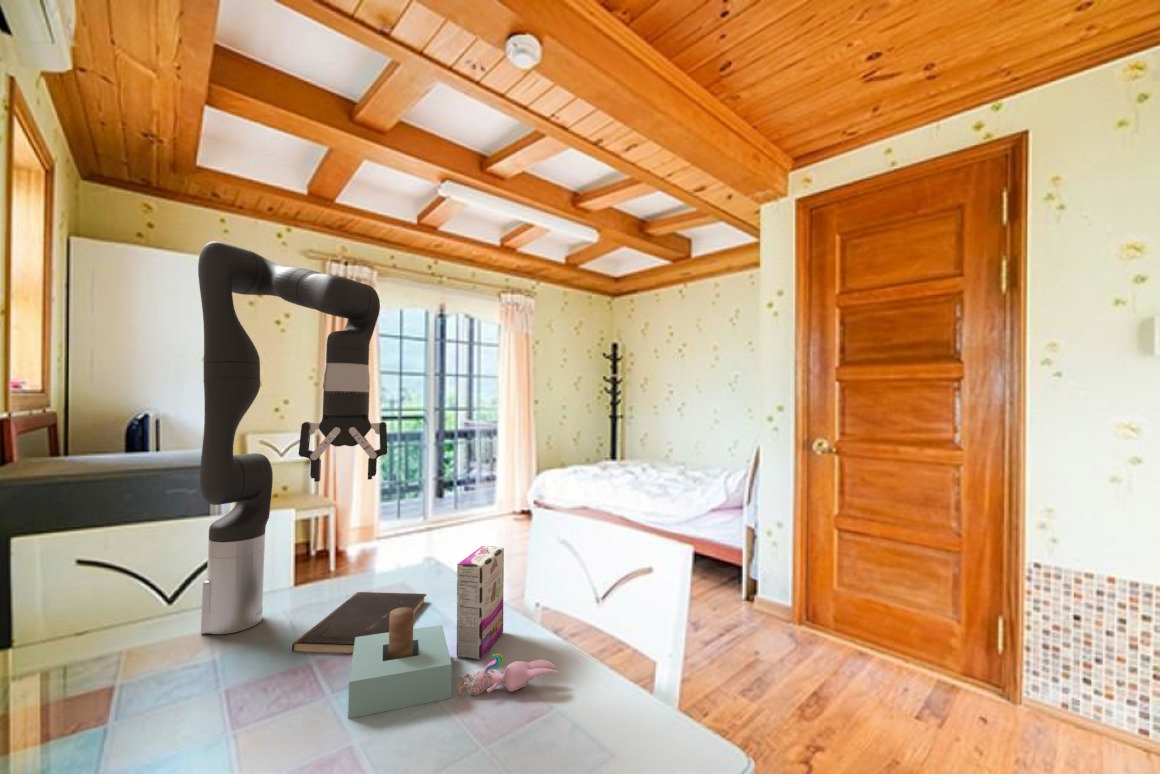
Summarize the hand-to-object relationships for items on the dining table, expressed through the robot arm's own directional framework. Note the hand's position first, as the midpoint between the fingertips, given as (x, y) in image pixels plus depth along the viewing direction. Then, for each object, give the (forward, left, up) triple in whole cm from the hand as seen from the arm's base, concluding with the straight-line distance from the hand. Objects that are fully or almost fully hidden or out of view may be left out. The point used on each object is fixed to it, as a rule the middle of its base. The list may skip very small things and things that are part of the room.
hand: (343, 480), depth 88 cm
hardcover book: (+4, +10, -31) cm, 33 cm away
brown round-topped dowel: (+10, -14, -30) cm, 35 cm away
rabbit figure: (+26, -22, -30) cm, 45 cm away
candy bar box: (+24, -6, -30) cm, 39 cm away
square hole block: (+10, -14, -30) cm, 35 cm away
